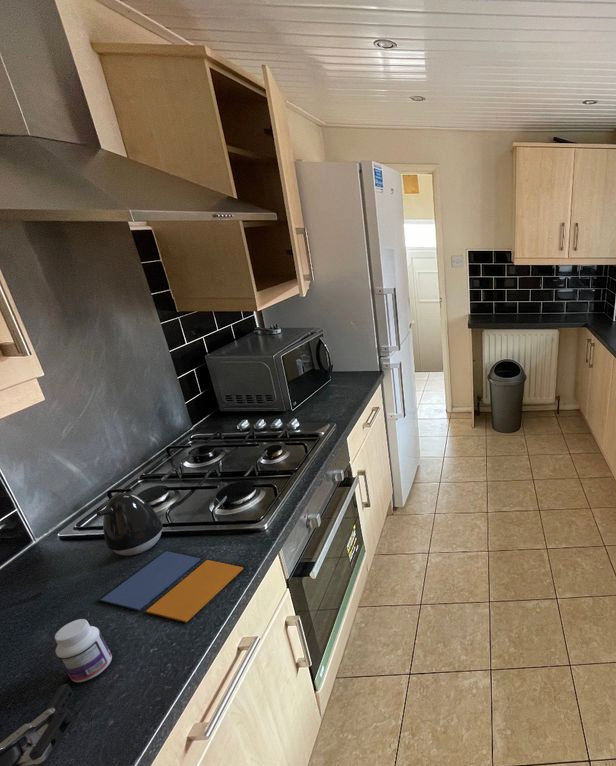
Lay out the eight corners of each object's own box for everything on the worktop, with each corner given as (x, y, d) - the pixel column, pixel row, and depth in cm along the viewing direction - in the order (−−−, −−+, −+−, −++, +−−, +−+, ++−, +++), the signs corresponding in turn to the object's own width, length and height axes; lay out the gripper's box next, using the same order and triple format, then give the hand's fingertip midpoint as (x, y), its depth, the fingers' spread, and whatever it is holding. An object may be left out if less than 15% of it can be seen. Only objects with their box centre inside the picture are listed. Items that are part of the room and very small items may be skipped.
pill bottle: (81, 659, 75) (59, 621, 72) (118, 648, 77) (99, 611, 74) (64, 688, 71) (40, 649, 67) (104, 676, 72) (83, 637, 69)
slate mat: (138, 610, 85) (138, 609, 84) (101, 601, 87) (100, 599, 87) (200, 559, 97) (200, 558, 97) (166, 552, 99) (165, 551, 99)
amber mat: (186, 622, 82) (185, 621, 82) (146, 612, 84) (145, 610, 84) (243, 568, 95) (243, 567, 95) (207, 561, 97) (207, 559, 97)
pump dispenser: (99, 561, 97) (74, 508, 91) (141, 530, 106) (121, 480, 101) (138, 565, 96) (115, 511, 90) (177, 533, 105) (159, 483, 100)
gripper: (-2, 797, 48) (81, 664, 62) (-182, 855, 43) (-48, 698, 58) (26, 832, 50) (99, 697, 65) (-141, 890, 46) (-23, 731, 60)
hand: (30, 697), depth 61 cm, fingers open, 8 cm apart
